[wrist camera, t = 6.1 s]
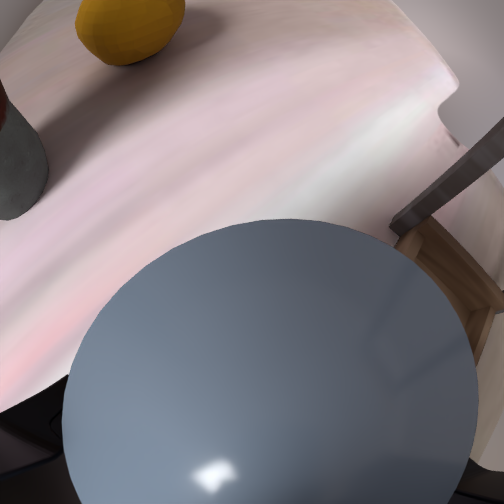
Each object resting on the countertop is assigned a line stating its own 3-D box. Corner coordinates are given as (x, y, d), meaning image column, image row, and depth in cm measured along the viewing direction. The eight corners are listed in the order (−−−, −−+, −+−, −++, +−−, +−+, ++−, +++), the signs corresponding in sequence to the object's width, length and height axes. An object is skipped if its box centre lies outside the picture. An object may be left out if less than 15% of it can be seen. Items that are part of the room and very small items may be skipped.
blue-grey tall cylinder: (299, 421, 14) (476, 514, 3) (185, 442, 13) (140, 614, 2) (278, 313, 16) (434, 204, 5) (164, 331, 15) (41, 251, 3)
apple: (204, 42, 33) (209, -33, 22) (137, 96, 28) (122, 8, 18) (133, 24, 33) (127, -39, 23) (67, 72, 29) (45, 3, 18)
